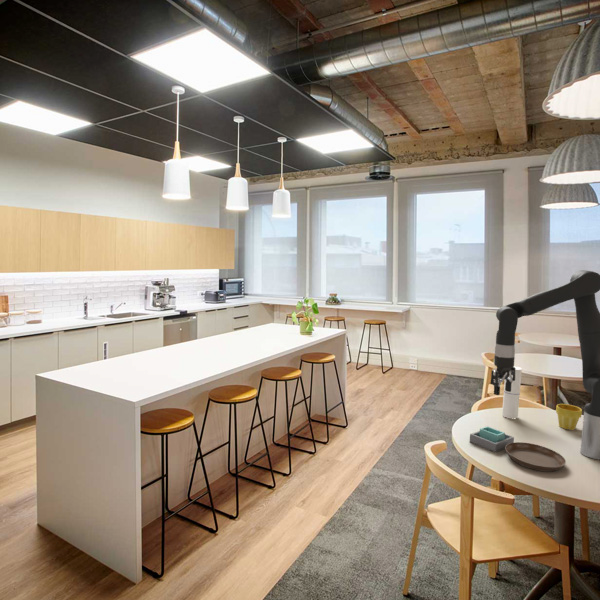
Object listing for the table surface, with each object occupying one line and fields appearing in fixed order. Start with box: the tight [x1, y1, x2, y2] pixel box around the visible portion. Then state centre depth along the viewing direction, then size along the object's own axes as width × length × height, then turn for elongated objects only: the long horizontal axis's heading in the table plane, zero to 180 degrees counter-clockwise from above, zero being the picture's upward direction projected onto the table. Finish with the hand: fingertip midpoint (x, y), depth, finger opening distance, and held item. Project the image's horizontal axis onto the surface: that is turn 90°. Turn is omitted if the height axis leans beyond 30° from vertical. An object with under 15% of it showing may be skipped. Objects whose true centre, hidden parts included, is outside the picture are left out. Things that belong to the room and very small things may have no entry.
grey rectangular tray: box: [469, 430, 515, 453], centre depth 181 cm, size 14×12×4 cm
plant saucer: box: [504, 441, 567, 472], centre depth 166 cm, size 21×21×3 cm
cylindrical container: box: [501, 365, 523, 420], centre depth 213 cm, size 7×7×25 cm
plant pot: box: [555, 403, 583, 431], centre depth 202 cm, size 10×10×10 cm
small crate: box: [479, 426, 506, 443], centre depth 181 cm, size 6×8×5 cm
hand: (502, 393), depth 179 cm, fingers open, 8 cm apart
